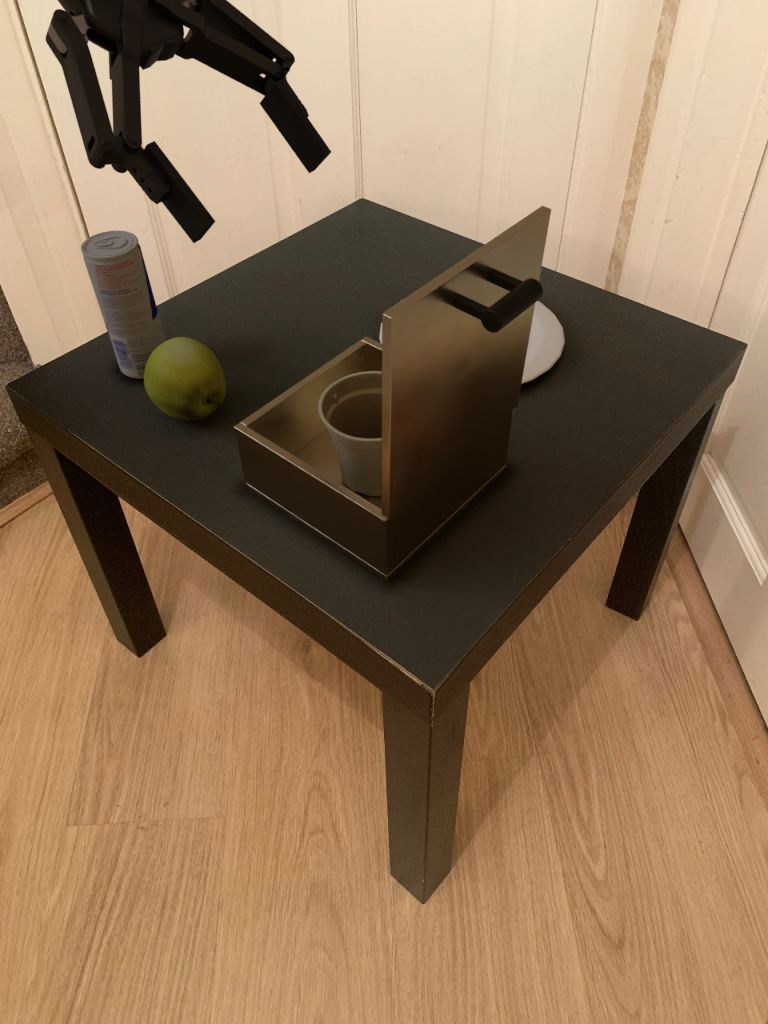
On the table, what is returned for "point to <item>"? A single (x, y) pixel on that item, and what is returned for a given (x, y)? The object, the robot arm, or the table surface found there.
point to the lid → (457, 357)
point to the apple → (184, 379)
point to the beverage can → (124, 298)
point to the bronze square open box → (318, 480)
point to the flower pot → (356, 428)
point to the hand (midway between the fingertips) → (266, 196)
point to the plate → (539, 343)
